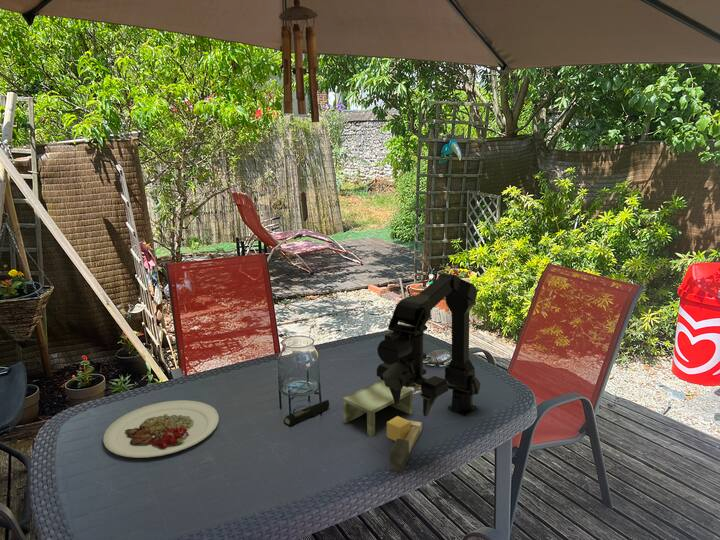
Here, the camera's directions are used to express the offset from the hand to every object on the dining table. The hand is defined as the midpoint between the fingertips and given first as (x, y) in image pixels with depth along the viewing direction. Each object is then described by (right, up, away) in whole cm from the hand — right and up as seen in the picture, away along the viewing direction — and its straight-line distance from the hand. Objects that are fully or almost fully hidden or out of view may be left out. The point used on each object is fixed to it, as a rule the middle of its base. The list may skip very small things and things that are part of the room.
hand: (410, 409), depth 126 cm
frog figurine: (+3, -4, +40) cm, 41 cm away
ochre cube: (-2, -10, +10) cm, 15 cm away
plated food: (-68, -10, +15) cm, 70 cm away
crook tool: (-3, -11, +5) cm, 13 cm away
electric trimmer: (-28, -8, +22) cm, 37 cm away
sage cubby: (-7, -8, +20) cm, 23 cm away
